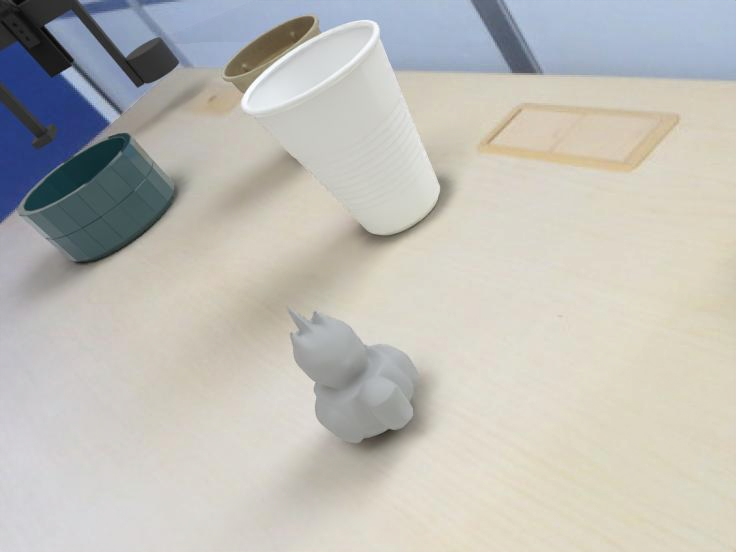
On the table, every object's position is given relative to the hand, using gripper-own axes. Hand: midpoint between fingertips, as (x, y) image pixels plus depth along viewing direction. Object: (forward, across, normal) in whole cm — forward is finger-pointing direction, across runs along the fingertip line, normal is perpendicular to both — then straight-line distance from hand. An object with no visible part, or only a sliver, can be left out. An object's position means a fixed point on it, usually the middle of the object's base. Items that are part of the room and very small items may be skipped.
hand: (62, 68), depth 89 cm
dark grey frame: (+5, 0, -1) cm, 5 cm away
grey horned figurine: (+9, -81, -22) cm, 85 cm away
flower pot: (+9, -39, -25) cm, 47 cm away
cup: (+9, -60, -28) cm, 67 cm away
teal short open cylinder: (+9, -30, -2) cm, 31 cm away
